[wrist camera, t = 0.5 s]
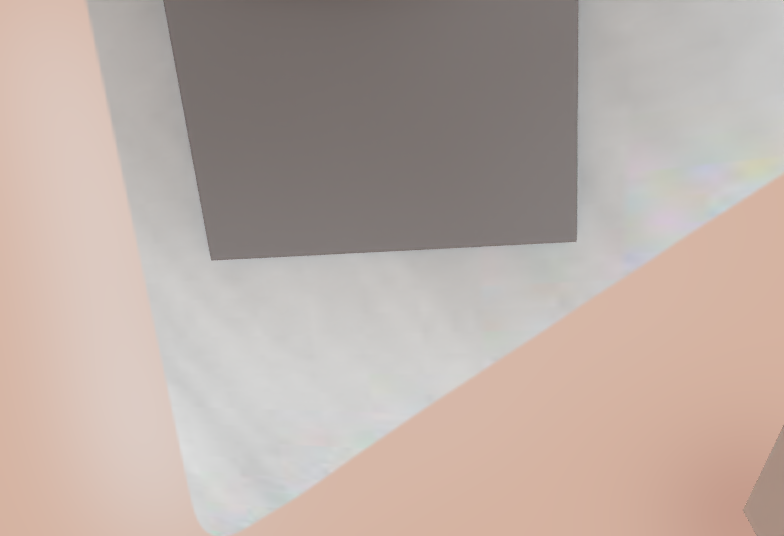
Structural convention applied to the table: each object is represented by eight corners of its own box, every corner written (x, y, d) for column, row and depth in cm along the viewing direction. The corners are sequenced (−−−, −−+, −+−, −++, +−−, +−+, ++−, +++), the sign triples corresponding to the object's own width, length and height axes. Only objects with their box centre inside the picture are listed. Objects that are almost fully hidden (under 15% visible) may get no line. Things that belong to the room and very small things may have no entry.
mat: (162, -40, 35) (155, -41, 34) (575, -82, 32) (579, -84, 32) (215, 255, 40) (211, 260, 39) (574, 237, 38) (576, 241, 37)
